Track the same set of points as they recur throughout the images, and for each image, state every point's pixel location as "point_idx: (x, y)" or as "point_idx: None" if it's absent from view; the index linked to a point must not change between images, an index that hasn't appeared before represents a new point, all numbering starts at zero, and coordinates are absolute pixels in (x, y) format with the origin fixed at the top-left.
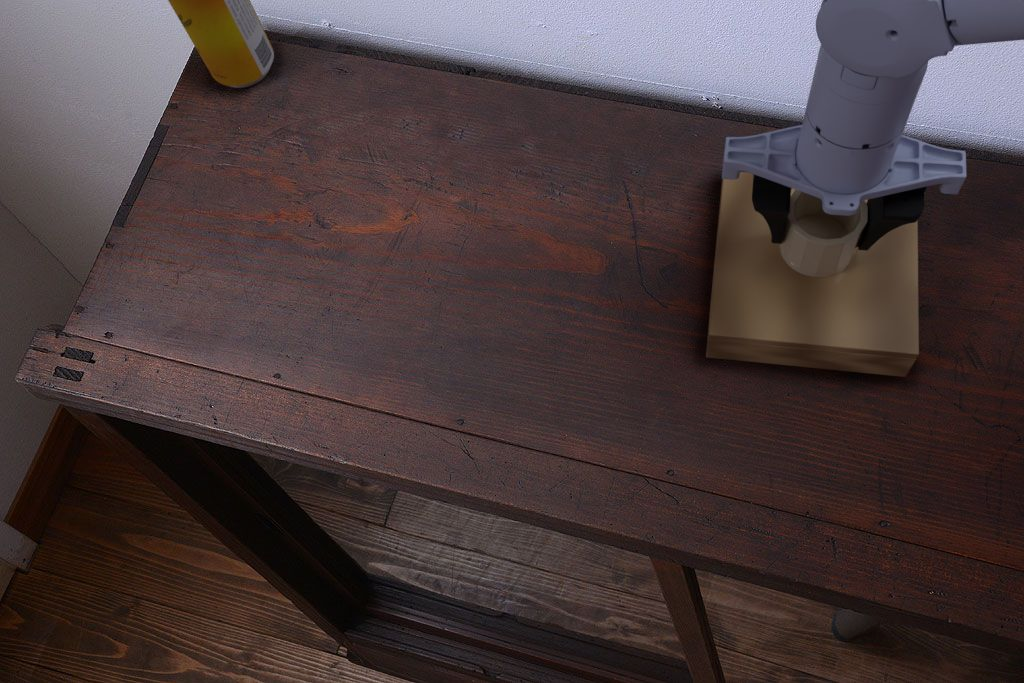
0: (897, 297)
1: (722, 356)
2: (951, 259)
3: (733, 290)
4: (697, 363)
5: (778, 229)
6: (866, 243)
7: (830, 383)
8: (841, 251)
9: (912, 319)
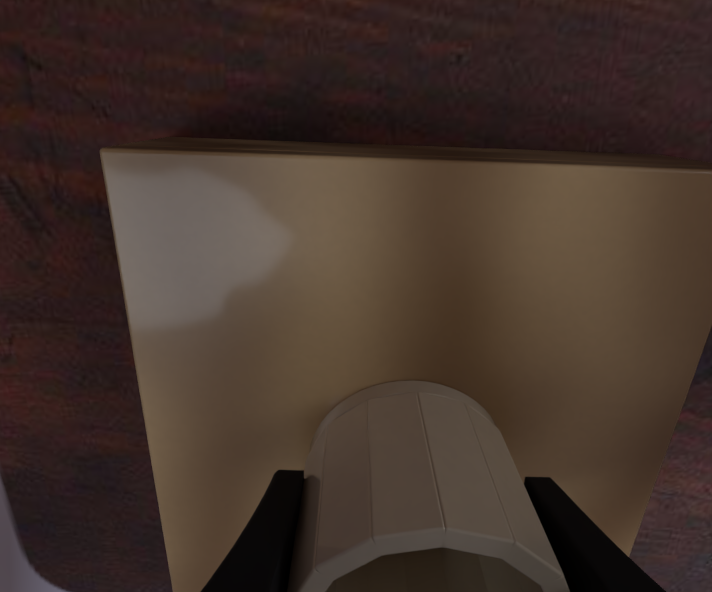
0: (187, 335)
1: (628, 154)
2: (109, 426)
3: (651, 328)
4: (683, 136)
5: (608, 563)
6: (282, 508)
7: (349, 103)
8: (369, 487)
9: (135, 269)
